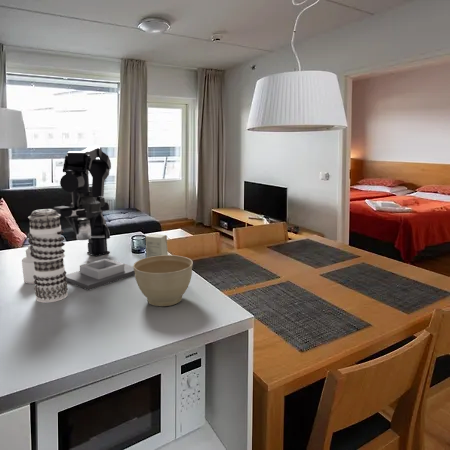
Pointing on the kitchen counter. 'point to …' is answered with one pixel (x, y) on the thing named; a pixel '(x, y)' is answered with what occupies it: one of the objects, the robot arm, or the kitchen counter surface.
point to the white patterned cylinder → (47, 255)
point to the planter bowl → (163, 278)
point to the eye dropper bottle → (28, 267)
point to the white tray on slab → (99, 273)
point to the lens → (84, 229)
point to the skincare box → (156, 245)
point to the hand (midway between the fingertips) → (83, 232)
